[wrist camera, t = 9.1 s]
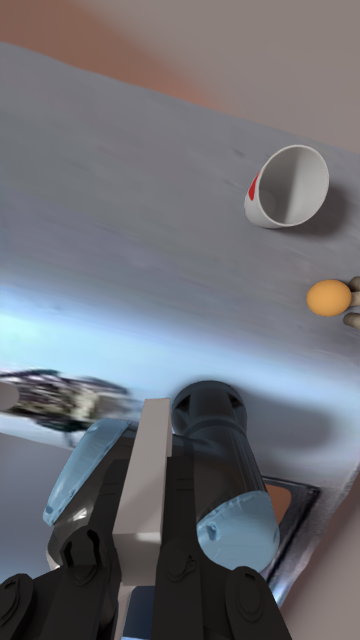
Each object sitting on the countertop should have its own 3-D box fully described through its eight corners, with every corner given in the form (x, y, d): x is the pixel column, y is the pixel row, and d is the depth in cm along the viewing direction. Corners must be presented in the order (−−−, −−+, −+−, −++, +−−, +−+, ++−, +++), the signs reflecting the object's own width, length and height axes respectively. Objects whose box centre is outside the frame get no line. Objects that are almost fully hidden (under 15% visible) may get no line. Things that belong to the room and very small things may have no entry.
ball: (340, 318, 31) (302, 320, 36) (362, 311, 33) (323, 314, 39) (333, 277, 31) (295, 286, 36) (356, 273, 33) (317, 281, 39)
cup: (262, 165, 32) (297, 125, 22) (297, 204, 34) (343, 183, 24) (224, 209, 34) (242, 190, 24) (259, 245, 35) (288, 241, 26)
